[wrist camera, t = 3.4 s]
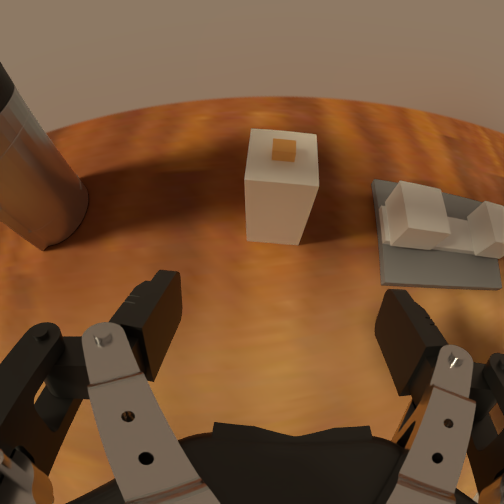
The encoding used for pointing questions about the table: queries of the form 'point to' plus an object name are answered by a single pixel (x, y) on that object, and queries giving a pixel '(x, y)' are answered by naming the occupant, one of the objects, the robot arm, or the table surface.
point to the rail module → (280, 185)
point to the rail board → (434, 260)
